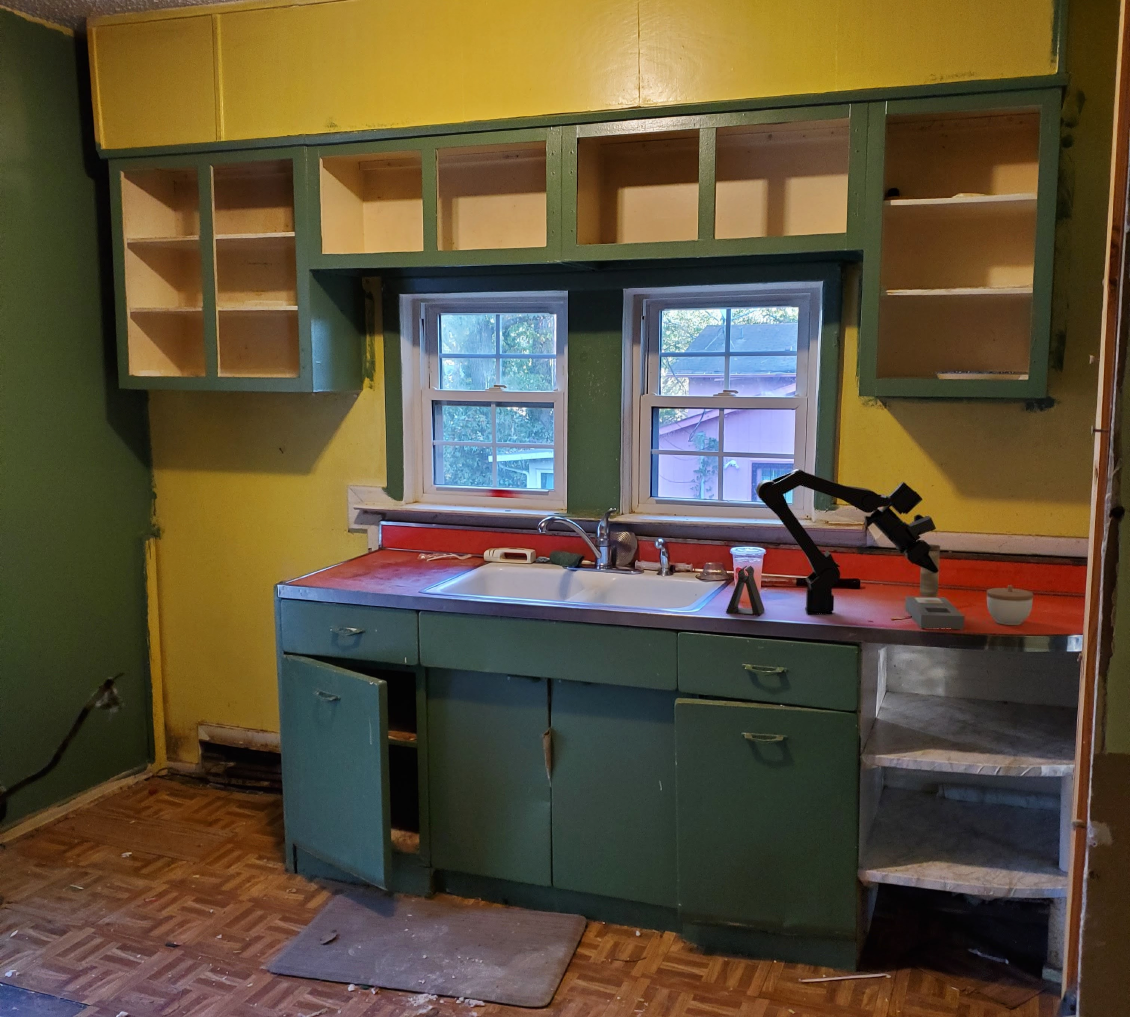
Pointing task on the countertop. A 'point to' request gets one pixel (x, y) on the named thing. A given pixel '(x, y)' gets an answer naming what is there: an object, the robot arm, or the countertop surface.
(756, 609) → the dark a-frame stand
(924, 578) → the maple plug
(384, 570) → the countertop surface
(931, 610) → the grey slotted base
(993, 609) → the lidded jar
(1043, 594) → the countertop surface
